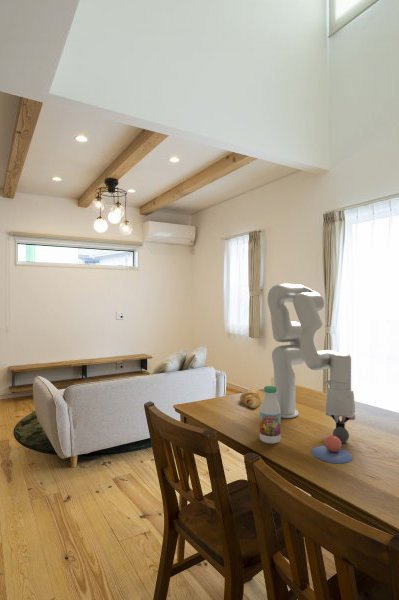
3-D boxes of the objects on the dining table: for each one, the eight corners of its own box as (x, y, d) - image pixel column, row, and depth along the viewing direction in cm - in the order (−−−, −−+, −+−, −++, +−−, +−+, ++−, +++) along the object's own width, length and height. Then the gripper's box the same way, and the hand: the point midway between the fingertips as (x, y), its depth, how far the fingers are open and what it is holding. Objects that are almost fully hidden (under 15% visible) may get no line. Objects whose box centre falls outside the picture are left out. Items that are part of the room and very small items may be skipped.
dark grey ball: (336, 424, 133) (333, 439, 132) (332, 424, 129) (329, 439, 128) (351, 429, 130) (348, 444, 129) (348, 429, 125) (345, 445, 125)
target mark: (307, 457, 116) (307, 456, 116) (316, 443, 127) (316, 443, 127) (349, 467, 110) (349, 466, 110) (354, 451, 121) (354, 451, 121)
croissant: (260, 417, 166) (267, 402, 166) (241, 407, 166) (249, 392, 166) (251, 402, 188) (258, 389, 188) (235, 394, 187) (242, 381, 187)
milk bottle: (257, 436, 134) (257, 384, 134) (276, 435, 135) (277, 384, 135) (262, 444, 127) (262, 390, 126) (283, 443, 127) (283, 389, 127)
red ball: (328, 447, 125) (325, 455, 120) (324, 432, 125) (321, 440, 120) (344, 447, 122) (342, 455, 117) (340, 432, 122) (337, 439, 117)
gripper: (318, 384, 135) (318, 431, 135) (360, 390, 127) (360, 440, 127) (322, 380, 141) (322, 425, 141) (362, 385, 134) (362, 433, 134)
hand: (340, 432), depth 134 cm, fingers closed
